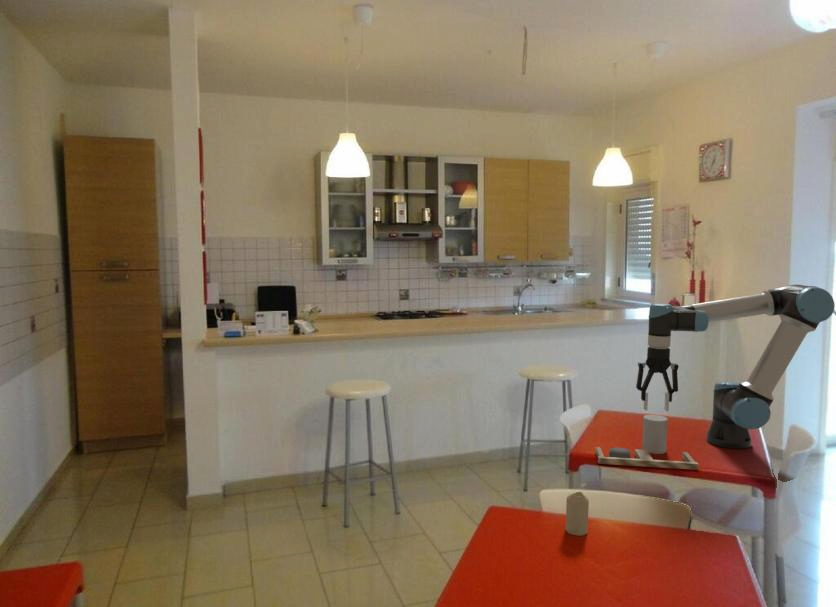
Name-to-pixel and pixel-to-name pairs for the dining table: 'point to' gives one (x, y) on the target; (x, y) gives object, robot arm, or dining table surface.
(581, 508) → the candle
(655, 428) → the grey cylinder
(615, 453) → the puck
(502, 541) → the dining table surface
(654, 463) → the slot rack
